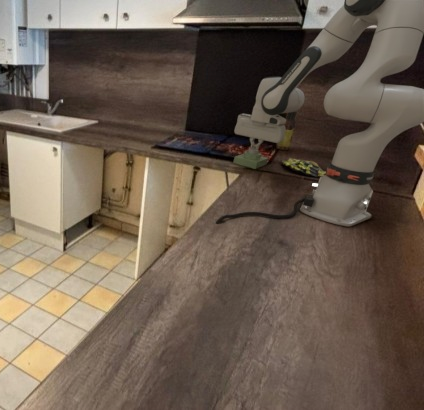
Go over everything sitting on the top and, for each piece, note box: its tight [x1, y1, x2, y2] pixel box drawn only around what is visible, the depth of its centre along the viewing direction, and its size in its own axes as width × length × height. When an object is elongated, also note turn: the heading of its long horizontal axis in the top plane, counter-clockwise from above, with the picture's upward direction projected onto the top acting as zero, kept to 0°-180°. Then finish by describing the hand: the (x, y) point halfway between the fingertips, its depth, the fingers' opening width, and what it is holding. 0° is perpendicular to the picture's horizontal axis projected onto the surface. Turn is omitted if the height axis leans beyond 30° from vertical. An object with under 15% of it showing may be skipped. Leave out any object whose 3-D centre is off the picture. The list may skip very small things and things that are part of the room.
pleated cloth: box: [281, 157, 327, 178], centre depth 155 cm, size 20×16×6 cm
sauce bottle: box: [276, 110, 298, 151], centre depth 184 cm, size 7×6×20 cm
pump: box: [247, 147, 260, 154], centre depth 157 cm, size 4×4×2 cm
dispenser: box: [232, 150, 269, 170], centre depth 159 cm, size 12×10×5 cm
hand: (254, 148), depth 157 cm, fingers closed
